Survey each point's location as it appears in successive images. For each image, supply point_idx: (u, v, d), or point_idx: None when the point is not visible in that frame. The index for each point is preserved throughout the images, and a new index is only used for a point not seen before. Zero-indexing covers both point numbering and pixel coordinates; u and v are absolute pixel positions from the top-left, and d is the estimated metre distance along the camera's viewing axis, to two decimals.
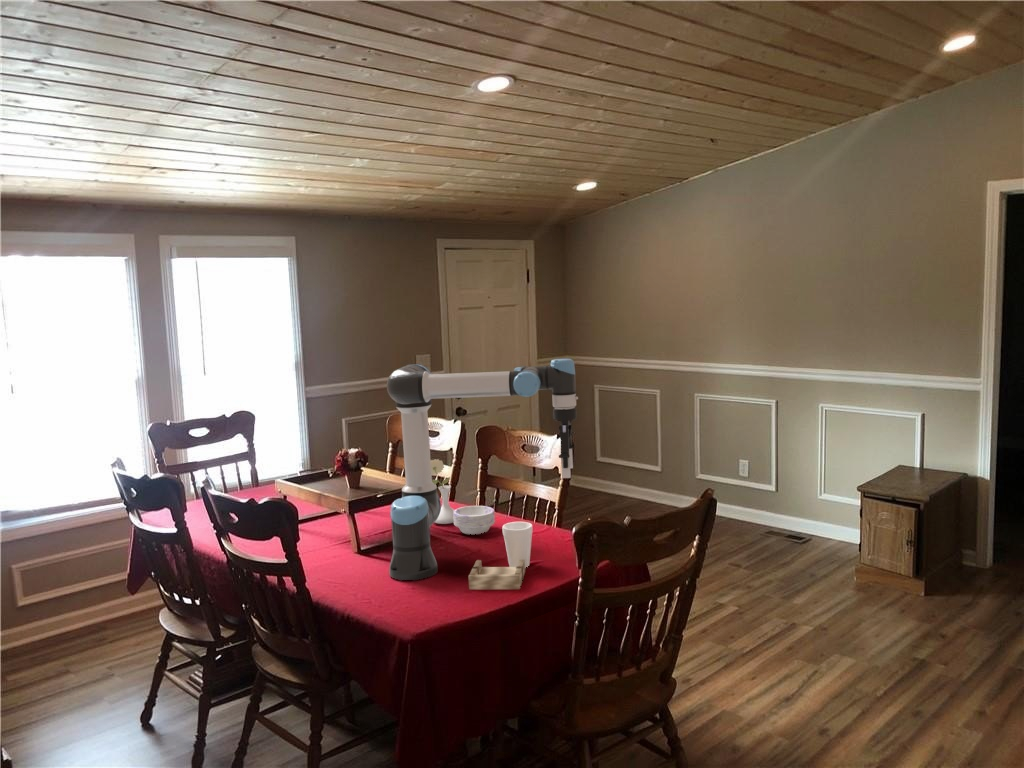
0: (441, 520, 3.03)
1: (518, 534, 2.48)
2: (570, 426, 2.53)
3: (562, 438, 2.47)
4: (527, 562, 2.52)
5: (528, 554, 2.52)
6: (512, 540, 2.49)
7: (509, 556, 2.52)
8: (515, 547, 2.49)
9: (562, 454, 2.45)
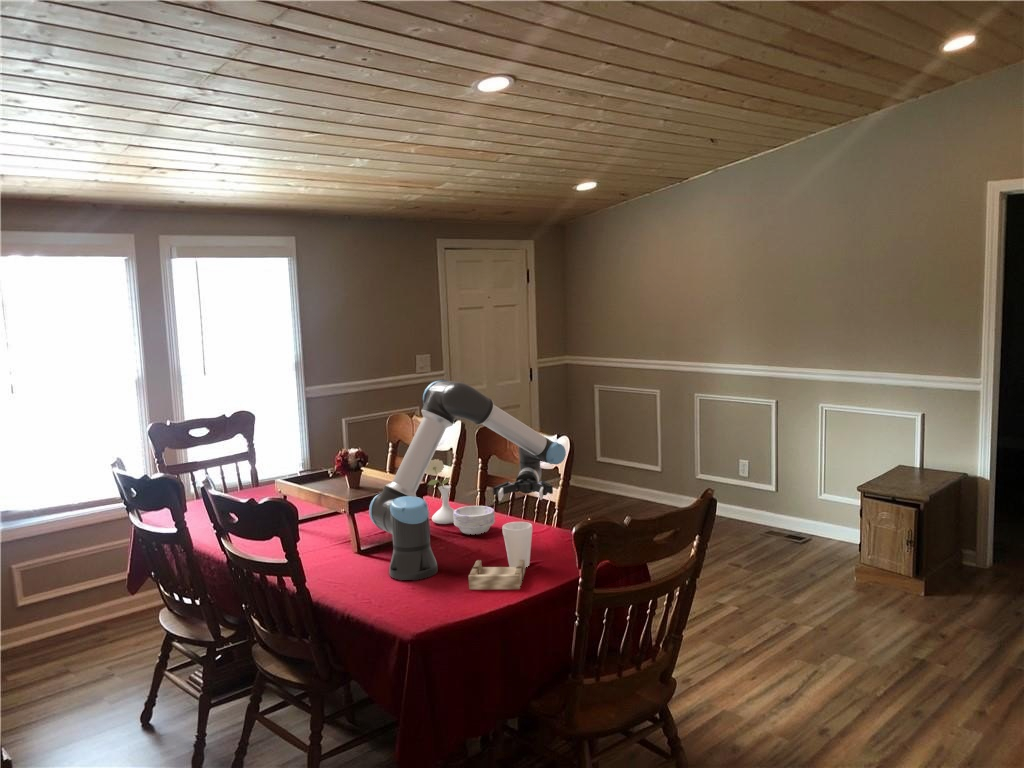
0: (441, 520, 3.03)
1: (518, 534, 2.48)
2: None
3: None
4: (527, 562, 2.52)
5: (528, 554, 2.52)
6: (512, 540, 2.49)
7: (509, 556, 2.52)
8: (515, 547, 2.49)
9: None
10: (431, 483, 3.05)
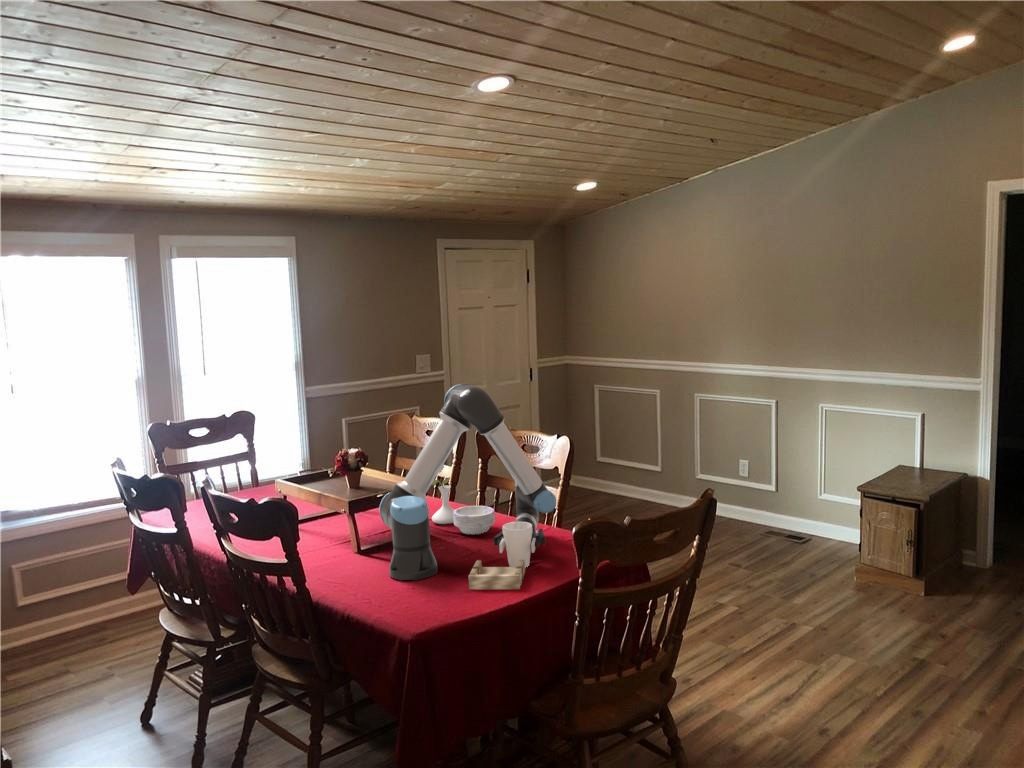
0: (441, 520, 3.03)
1: (518, 534, 2.48)
2: None
3: None
4: (527, 562, 2.52)
5: (528, 554, 2.52)
6: (512, 540, 2.49)
7: (509, 556, 2.52)
8: (515, 547, 2.49)
9: None
10: None
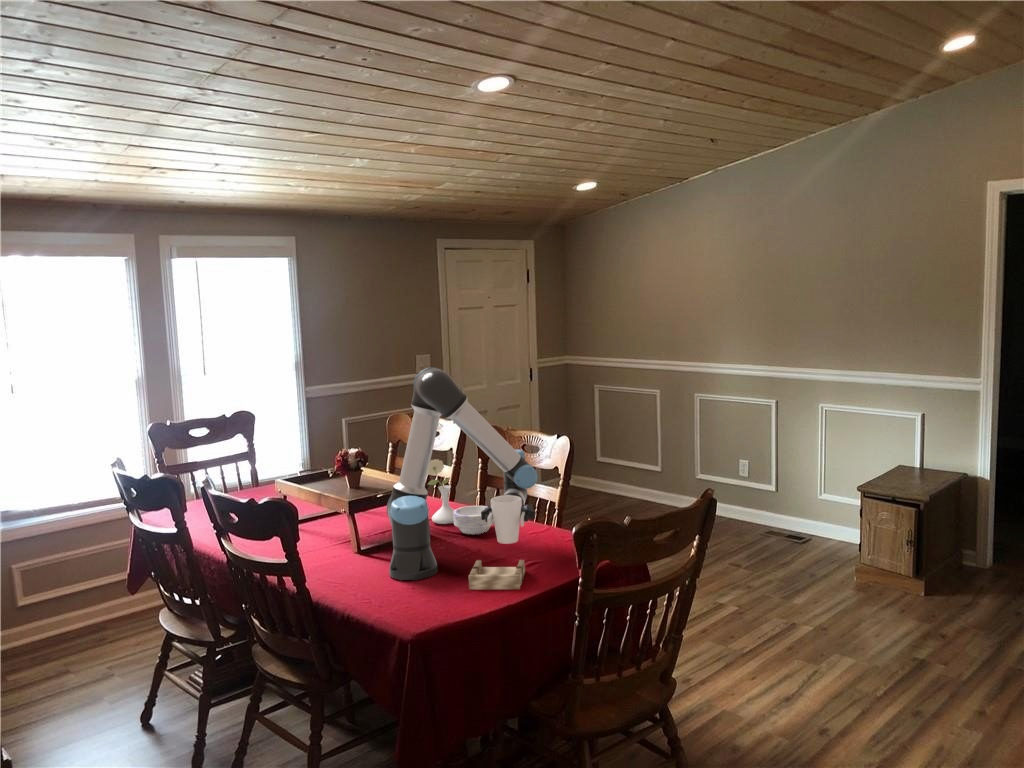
0: (441, 520, 3.03)
1: (507, 507, 2.39)
2: None
3: None
4: (516, 537, 2.43)
5: (517, 528, 2.43)
6: (501, 514, 2.40)
7: (497, 530, 2.43)
8: (504, 521, 2.41)
9: None
10: (431, 483, 3.05)
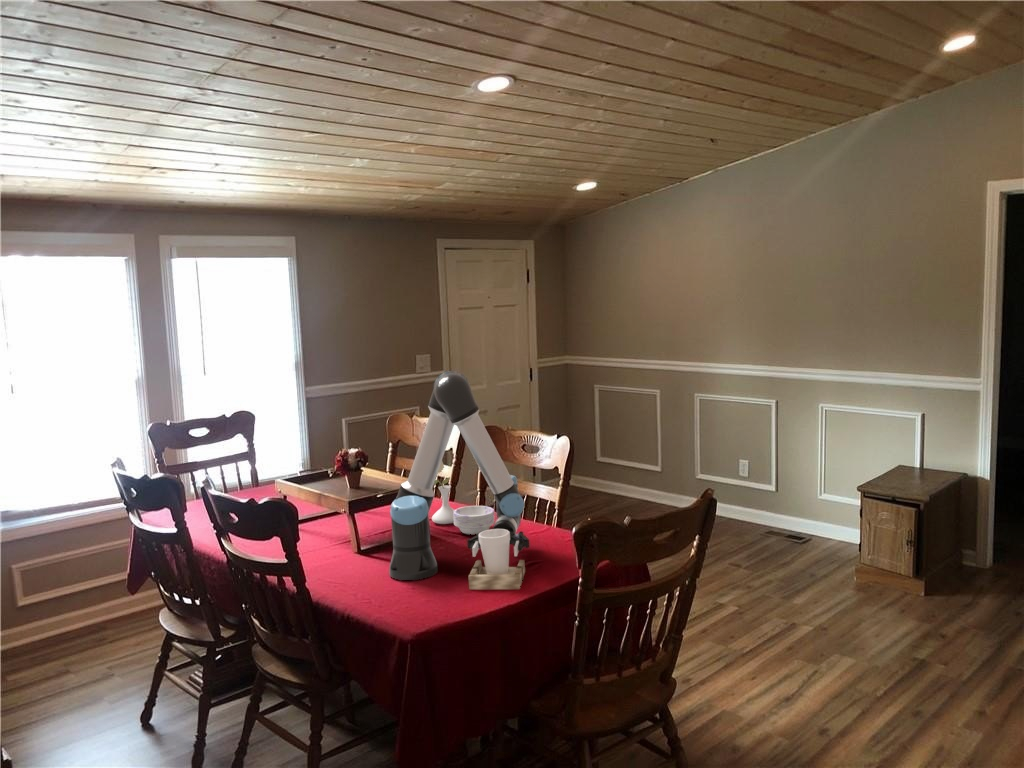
0: (441, 520, 3.03)
1: (494, 542, 2.36)
2: None
3: None
4: (505, 571, 2.40)
5: (506, 563, 2.39)
6: (489, 549, 2.37)
7: (486, 565, 2.39)
8: (492, 556, 2.37)
9: None
10: None
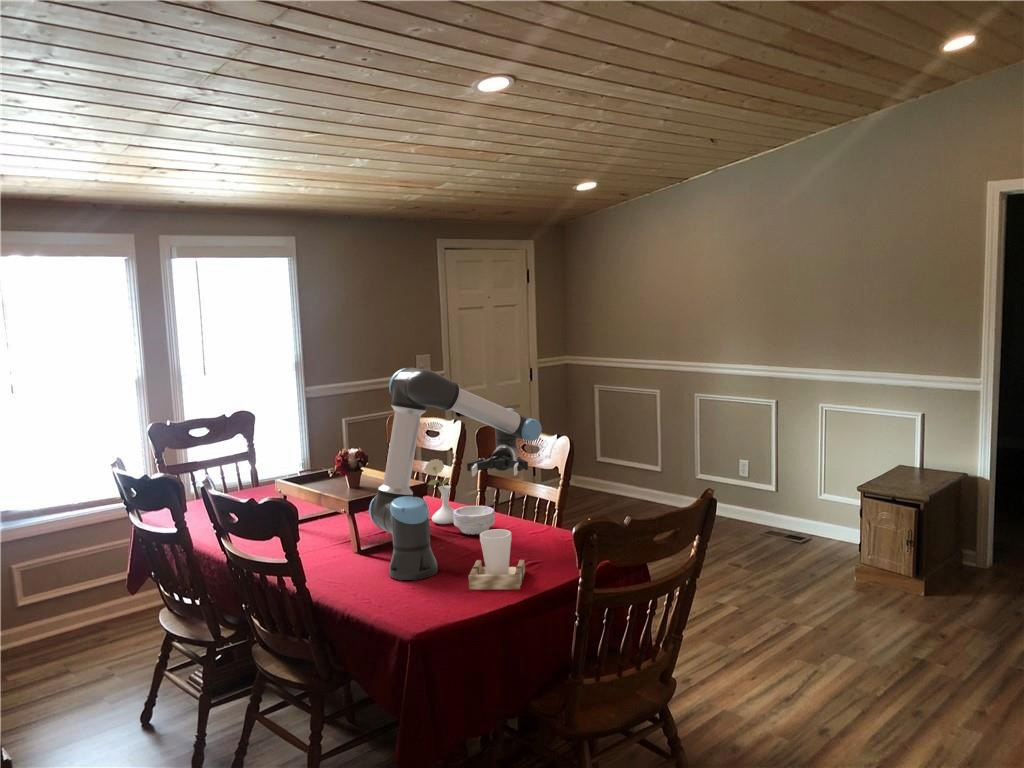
0: (441, 520, 3.03)
1: (496, 542, 2.36)
2: None
3: None
4: (506, 572, 2.40)
5: (507, 563, 2.39)
6: (490, 549, 2.37)
7: (487, 565, 2.39)
8: (493, 556, 2.37)
9: None
10: (431, 483, 3.05)
